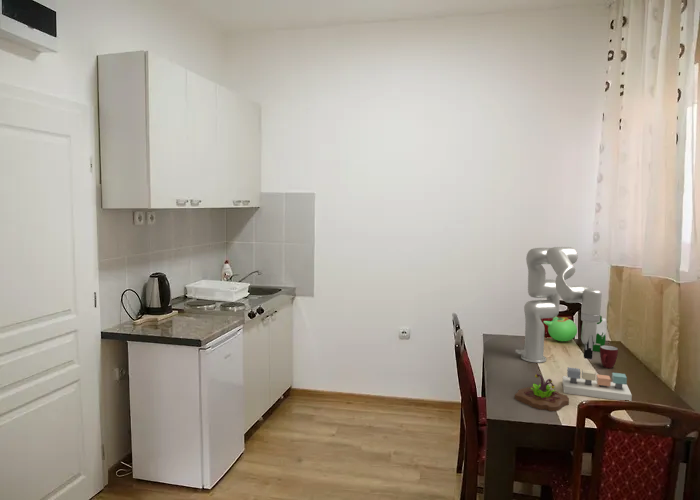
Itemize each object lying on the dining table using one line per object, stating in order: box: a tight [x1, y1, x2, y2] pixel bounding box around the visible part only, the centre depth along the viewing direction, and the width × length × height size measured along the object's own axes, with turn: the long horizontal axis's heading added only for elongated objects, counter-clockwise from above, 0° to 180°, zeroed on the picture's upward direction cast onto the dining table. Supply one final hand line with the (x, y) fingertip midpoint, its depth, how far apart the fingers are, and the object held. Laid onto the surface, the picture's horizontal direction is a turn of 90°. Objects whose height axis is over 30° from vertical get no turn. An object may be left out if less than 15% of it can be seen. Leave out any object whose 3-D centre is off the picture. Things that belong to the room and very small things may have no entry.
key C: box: [595, 373, 612, 388], centre depth 218 cm, size 5×5×6 cm
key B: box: [581, 368, 597, 385], centre depth 220 cm, size 5×5×6 cm
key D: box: [611, 372, 628, 389], centre depth 215 cm, size 5×5×6 cm
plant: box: [514, 373, 570, 412], centre depth 209 cm, size 20×20×11 cm
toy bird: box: [542, 315, 578, 342], centre depth 299 cm, size 18×17×15 cm
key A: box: [566, 366, 581, 384], centre depth 222 cm, size 5×5×6 cm
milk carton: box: [592, 315, 608, 353], centre depth 281 cm, size 9×9×20 cm
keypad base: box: [562, 375, 633, 402], centre depth 219 cm, size 26×14×3 cm, turn 69°
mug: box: [599, 345, 619, 369], centre depth 251 cm, size 10×8×10 cm
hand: (587, 358), depth 219 cm, fingers closed
